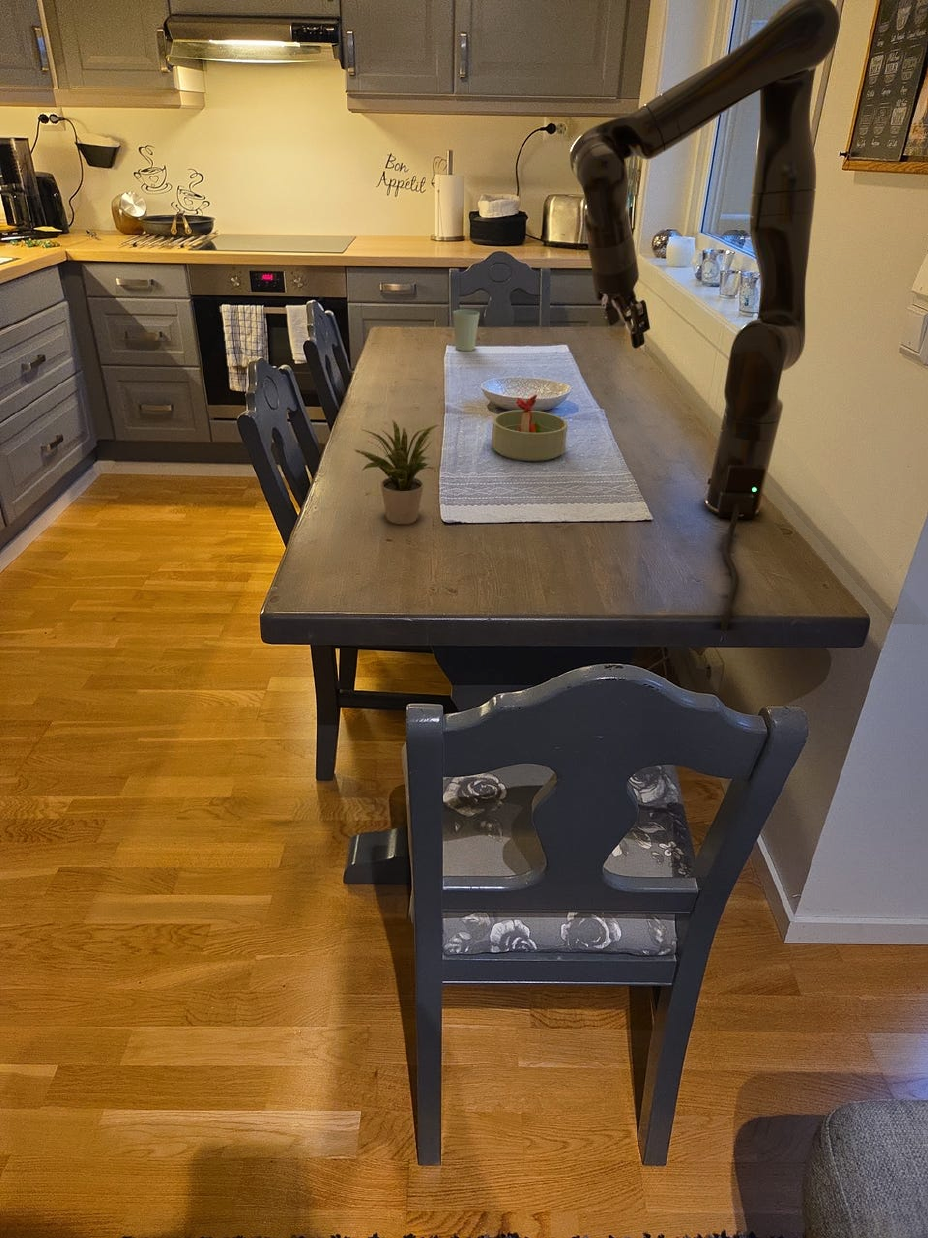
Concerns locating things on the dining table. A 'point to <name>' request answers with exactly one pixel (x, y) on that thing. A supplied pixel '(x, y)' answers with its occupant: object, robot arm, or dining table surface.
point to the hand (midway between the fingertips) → (626, 333)
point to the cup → (465, 329)
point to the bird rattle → (528, 416)
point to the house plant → (401, 475)
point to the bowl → (529, 436)
